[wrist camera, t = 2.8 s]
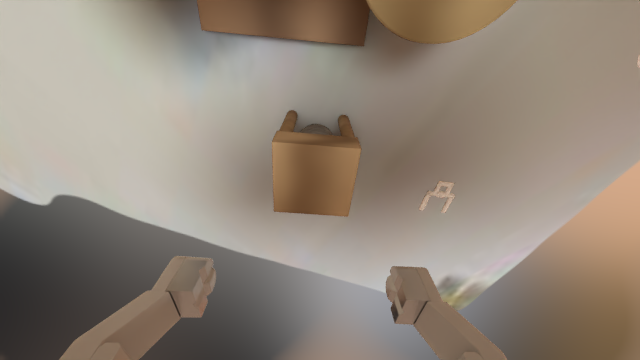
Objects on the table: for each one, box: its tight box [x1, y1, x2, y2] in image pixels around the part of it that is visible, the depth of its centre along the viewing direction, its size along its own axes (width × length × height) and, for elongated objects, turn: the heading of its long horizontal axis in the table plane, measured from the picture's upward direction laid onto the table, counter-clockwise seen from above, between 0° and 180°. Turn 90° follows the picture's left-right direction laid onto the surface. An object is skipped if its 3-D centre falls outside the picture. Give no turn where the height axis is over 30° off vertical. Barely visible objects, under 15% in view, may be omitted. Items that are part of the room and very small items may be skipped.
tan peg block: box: [272, 110, 361, 216], centre depth 19 cm, size 6×6×8 cm
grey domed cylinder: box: [300, 124, 333, 135], centre depth 21 cm, size 4×4×4 cm
